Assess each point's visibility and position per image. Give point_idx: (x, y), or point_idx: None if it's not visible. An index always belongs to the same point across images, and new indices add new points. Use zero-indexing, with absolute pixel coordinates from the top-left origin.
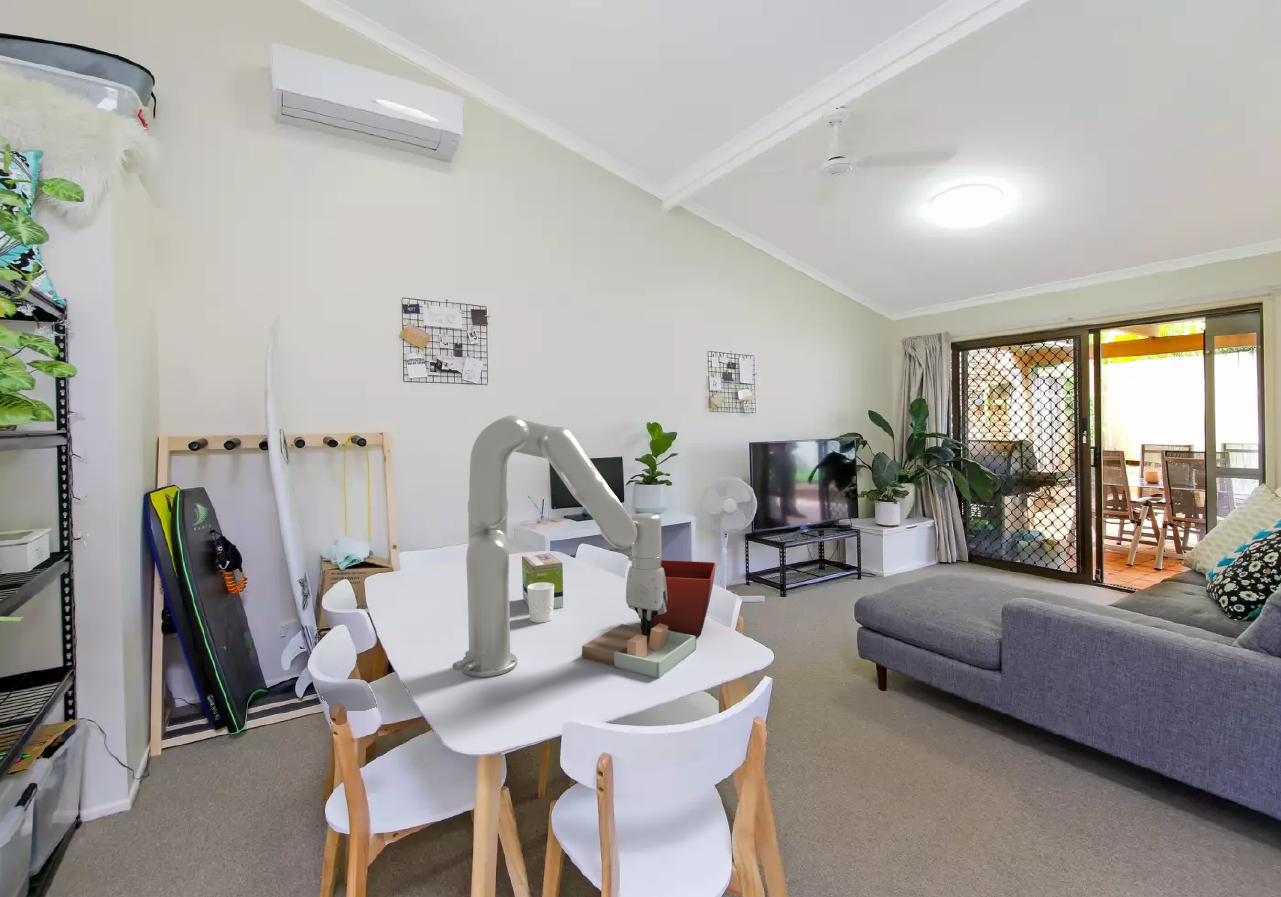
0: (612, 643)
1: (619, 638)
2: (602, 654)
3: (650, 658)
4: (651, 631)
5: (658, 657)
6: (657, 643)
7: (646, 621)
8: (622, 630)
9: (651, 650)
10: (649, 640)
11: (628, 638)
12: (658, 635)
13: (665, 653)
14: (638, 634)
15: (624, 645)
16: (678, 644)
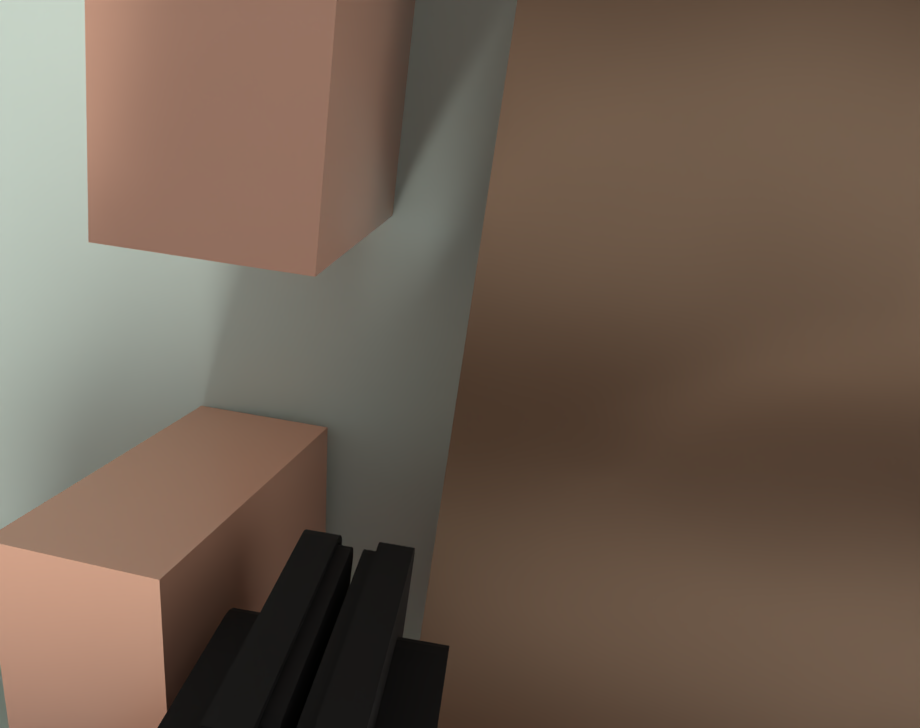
0: (847, 115)
1: (795, 396)
2: None
3: None
4: (171, 555)
5: (85, 216)
6: (144, 449)
7: (214, 707)
8: (860, 721)
9: (281, 407)
10: (272, 474)
11: (636, 444)
12: (53, 509)
13: (71, 375)
14: (296, 267)
15: (580, 106)
16: None
